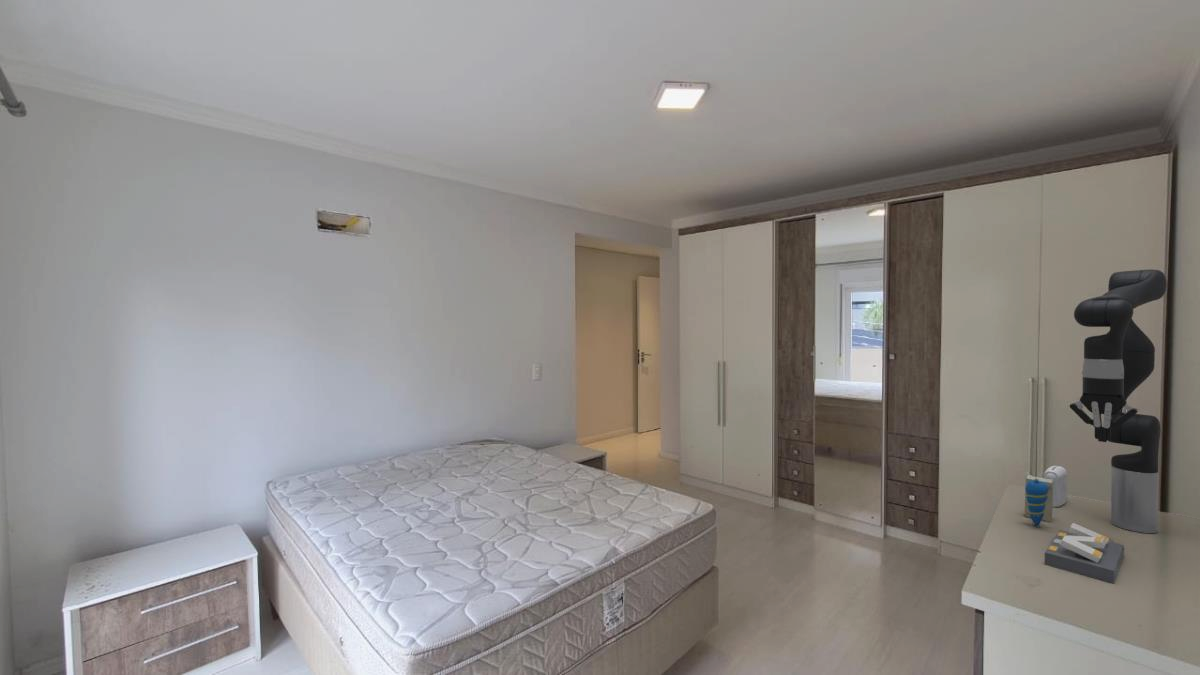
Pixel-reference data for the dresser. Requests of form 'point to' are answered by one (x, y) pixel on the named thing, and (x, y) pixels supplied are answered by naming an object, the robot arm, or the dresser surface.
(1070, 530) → the rocker inner
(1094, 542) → the rocker middle
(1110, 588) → the dresser surface
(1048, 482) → the skincare box
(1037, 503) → the ornament
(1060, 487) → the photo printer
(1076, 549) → the rocker outer
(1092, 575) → the switch unit
